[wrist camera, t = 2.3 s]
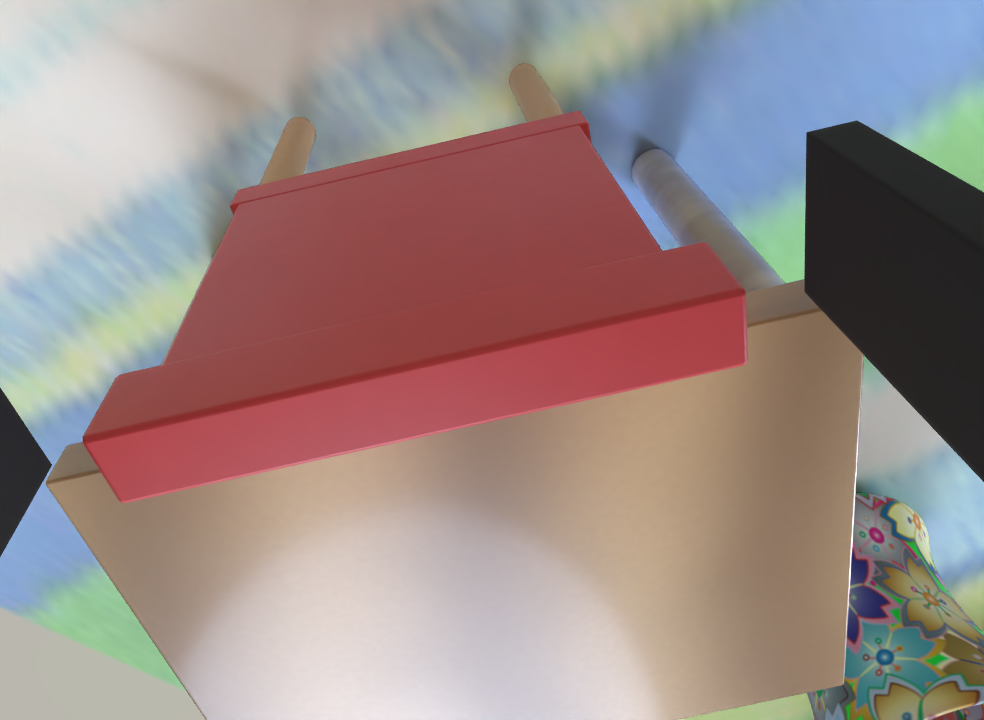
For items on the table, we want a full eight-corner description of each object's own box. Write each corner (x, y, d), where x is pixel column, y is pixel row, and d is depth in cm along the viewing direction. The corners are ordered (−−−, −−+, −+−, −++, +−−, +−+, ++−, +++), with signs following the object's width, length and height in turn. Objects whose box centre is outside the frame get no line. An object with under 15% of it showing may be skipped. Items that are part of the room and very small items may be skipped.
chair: (553, 46, 23) (748, 289, 10) (586, 263, 27) (759, 643, 14) (259, 115, 23) (76, 440, 10) (333, 320, 27) (269, 747, 14)
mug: (680, 586, 36) (772, 823, 27) (820, 442, 33) (980, 663, 24) (862, 656, 41) (992, 882, 32) (1005, 536, 37) (1199, 754, 28)
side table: (680, 120, 25) (868, 298, 15) (702, 419, 31) (845, 686, 21) (186, 234, 25) (42, 483, 15) (308, 506, 32) (264, 807, 22)
